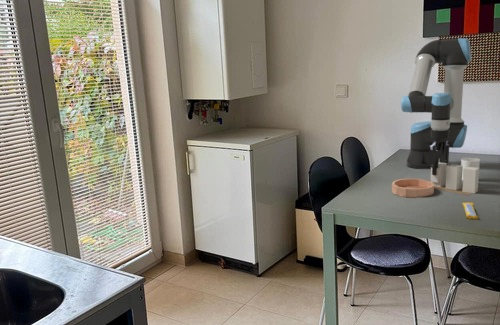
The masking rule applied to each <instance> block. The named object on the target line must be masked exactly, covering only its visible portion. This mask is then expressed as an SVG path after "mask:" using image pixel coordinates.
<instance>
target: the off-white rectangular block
mask: <svg viewBox="0 0 500 325" xmlns="http://www.w3.org/2000/svg"><path fill="white" fill-rule="evenodd" d="M462 170H463V166H461V164H454V163H451V164H448V165H447V168H446V188H447V189H452V190H458V189H461V188H462V186H463V180H462Z"/></svg>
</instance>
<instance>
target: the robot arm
mask: <svg viewBox="0 0 500 325" xmlns="http://www.w3.org/2000/svg"><path fill="white" fill-rule="evenodd" d="M470 43H471V42H470V40H469V38H465V37H464V38H463V37H462V38H446V39H435V40H432V41H430V42H428V43H426V44H425V45H423V46H422V47H421V49H420V50H419V51H418V53H417V54H416V57H415V60H414V64H415V68H414V71H413V76H412V80H411V84H410V88H409V91H408V94H407V95H404V96H403V97H401V101H400V108H401V111H402V112H403V113H411V114H412V113H428V114H429V113H430V114H431V118H430V120H429V121H421V122H415V123H413V124H412V125H411V127H410V132H409V133H410V143H409V144H410V148H409V150H410V151H409V153H408V157H407V159H406V166H407V167H408V168H413V169H421V170H423V169H426V170H427V169H431V167H432V182H437V183H438V179H439V168H438V163H439V162H441V163H447V166H448V165H449V160H450V159H449V158H450V148H452V149H457V148H458V149H460V148H462V147H463V146H464V145H465V140H466V138H467V131H468V125H467V124H465V120H463V118H462V108H463V95H464V94H463V93H464V90H463V88H464V75H465V74H464V72H465V69H466V68H467V67H468V63H471V62H472V52H471V49H472V48H471V44H470ZM435 64H441V67H442V68H443V70H444V84H443V85H444V87H443V88H444V89H443V92H435V93H433V94H432V95H427V91H428V86H429V82H430V78H431V75H432V74H431V73H432V69H433V67H434V66H435Z"/></svg>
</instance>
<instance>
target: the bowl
mask: <svg viewBox="0 0 500 325" xmlns="http://www.w3.org/2000/svg"><path fill="white" fill-rule="evenodd" d="M391 193H392V194H393V195H395V196H398V197H401V198H406V199H416V198H420V197H422V198H424V197H428V196H431V195H434V193H435V189H434V183H432V182H431V180H430V181H429V180H425V179H421V178H420V179H419V178H400V179H396V180H394V181H392V183H391Z"/></svg>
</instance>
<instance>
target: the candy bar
mask: <svg viewBox="0 0 500 325" xmlns="http://www.w3.org/2000/svg"><path fill="white" fill-rule="evenodd" d="M461 204H462V206H463V209H464V212H465V215H466V219H468V220H469V219H470V220H479V216H480V215H479V216H478V215H477V213H476V211H475V207H474V205H475V203H474V202H462V203H461Z"/></svg>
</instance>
